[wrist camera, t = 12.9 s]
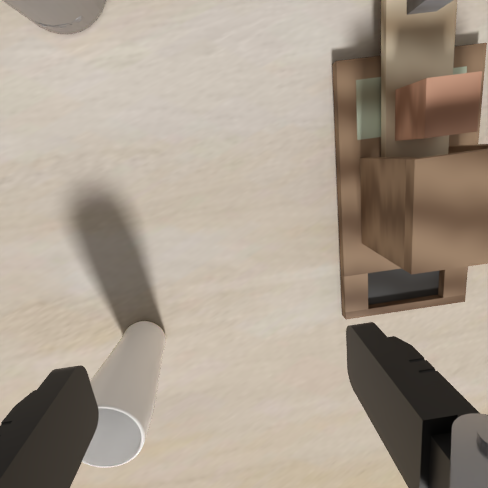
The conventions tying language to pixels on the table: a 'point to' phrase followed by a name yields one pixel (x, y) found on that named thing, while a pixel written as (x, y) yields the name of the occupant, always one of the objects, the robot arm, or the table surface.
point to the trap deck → (405, 202)
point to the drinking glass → (126, 395)
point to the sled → (423, 80)
